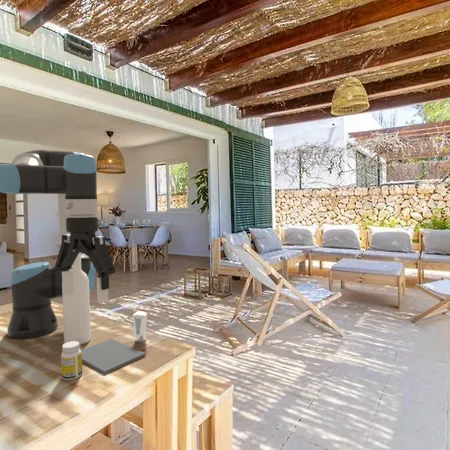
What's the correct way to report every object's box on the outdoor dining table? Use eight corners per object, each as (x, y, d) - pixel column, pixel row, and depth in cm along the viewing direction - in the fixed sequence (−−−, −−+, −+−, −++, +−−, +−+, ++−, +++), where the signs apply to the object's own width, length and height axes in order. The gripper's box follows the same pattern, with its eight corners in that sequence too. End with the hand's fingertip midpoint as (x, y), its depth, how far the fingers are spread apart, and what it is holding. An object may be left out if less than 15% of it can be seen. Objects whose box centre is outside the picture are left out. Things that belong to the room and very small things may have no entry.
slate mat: (71, 356, 96) (71, 353, 96) (111, 341, 106) (111, 338, 106) (104, 374, 85) (104, 371, 85) (145, 355, 96) (145, 353, 96)
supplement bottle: (76, 369, 88) (75, 338, 88) (85, 375, 85) (84, 343, 85) (58, 376, 85) (57, 344, 84) (67, 383, 82) (65, 350, 81)
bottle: (63, 348, 101) (59, 251, 99) (64, 338, 108) (60, 248, 106) (91, 343, 105) (88, 249, 103) (90, 334, 112) (87, 246, 110)
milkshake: (146, 343, 104) (145, 312, 104) (130, 342, 105) (130, 311, 105) (152, 337, 109) (151, 307, 108) (137, 336, 110) (136, 307, 109)
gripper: (38, 216, 87) (42, 295, 88) (103, 217, 75) (106, 309, 76) (64, 215, 93) (67, 288, 95) (128, 216, 81) (130, 301, 83)
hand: (85, 298), depth 85 cm, fingers open, 13 cm apart
